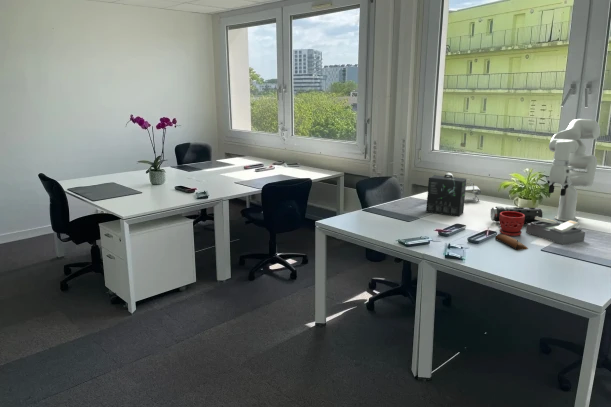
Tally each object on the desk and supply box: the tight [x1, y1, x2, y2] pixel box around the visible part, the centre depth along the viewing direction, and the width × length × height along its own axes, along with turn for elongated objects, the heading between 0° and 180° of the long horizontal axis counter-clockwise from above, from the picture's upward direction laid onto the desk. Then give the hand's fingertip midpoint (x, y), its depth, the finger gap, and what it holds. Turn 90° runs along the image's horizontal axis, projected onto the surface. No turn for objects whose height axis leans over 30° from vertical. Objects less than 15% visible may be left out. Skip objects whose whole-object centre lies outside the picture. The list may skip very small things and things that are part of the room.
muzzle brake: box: [490, 206, 543, 224], centre depth 279 cm, size 10×28×10 cm, turn 85°
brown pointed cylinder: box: [494, 233, 529, 251], centre depth 241 cm, size 18×7×7 cm
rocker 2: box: [554, 220, 579, 232], centre depth 246 cm, size 12×5×2 cm, turn 111°
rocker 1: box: [535, 216, 558, 224], centre depth 258 cm, size 12×5×2 cm, turn 112°
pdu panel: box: [525, 221, 586, 246], centre depth 255 cm, size 16×28×6 cm, turn 21°
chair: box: [445, 172, 482, 203], centre depth 339 cm, size 13×25×20 cm, turn 78°
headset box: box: [425, 173, 467, 218], centre depth 302 cm, size 22×12×26 cm, turn 58°
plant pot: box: [498, 211, 525, 237], centre depth 257 cm, size 13×13×12 cm
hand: (556, 193), depth 256 cm, fingers open, 6 cm apart
